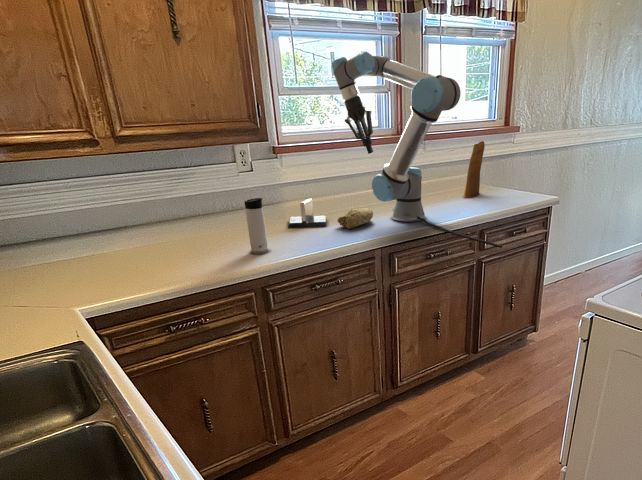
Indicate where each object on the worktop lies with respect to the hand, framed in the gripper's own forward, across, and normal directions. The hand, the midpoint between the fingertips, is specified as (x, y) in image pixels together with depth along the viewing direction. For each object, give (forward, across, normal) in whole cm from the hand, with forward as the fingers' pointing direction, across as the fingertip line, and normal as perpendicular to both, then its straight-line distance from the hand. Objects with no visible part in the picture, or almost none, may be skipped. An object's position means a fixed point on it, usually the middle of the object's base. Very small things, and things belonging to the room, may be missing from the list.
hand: (370, 152), depth 234 cm
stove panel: (+18, +31, +23) cm, 43 cm away
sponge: (+26, +11, +17) cm, 33 cm away
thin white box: (+16, +30, +23) cm, 41 cm away
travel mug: (+17, +28, +68) cm, 75 cm away
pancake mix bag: (+43, -24, -62) cm, 79 cm away
